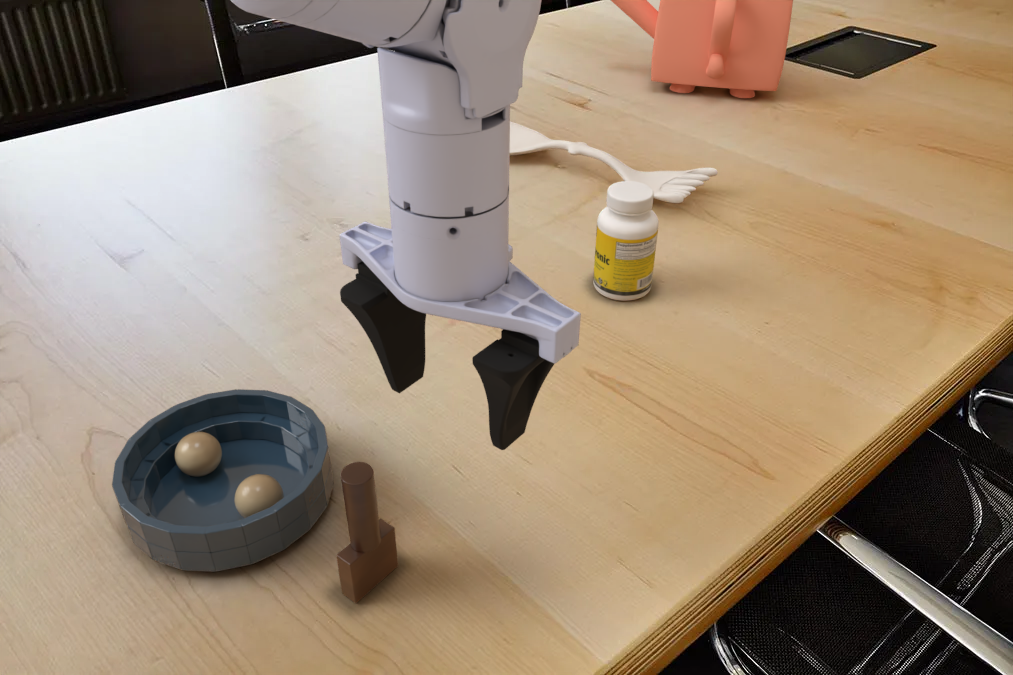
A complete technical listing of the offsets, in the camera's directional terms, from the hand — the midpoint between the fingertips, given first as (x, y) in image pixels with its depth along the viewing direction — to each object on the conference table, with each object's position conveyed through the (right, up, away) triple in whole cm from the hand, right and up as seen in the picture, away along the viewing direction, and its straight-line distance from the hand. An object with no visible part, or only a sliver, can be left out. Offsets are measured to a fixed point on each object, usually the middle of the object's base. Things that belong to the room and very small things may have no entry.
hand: (456, 409), depth 49 cm
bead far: (-18, -4, +9) cm, 20 cm away
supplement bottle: (+14, +9, +31) cm, 35 cm away
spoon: (+11, +23, +51) cm, 57 cm away
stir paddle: (-5, -11, +3) cm, 12 cm away
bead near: (-13, -6, +6) cm, 15 cm away
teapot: (+30, +42, +78) cm, 93 cm away
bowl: (-15, -7, +9) cm, 19 cm away
